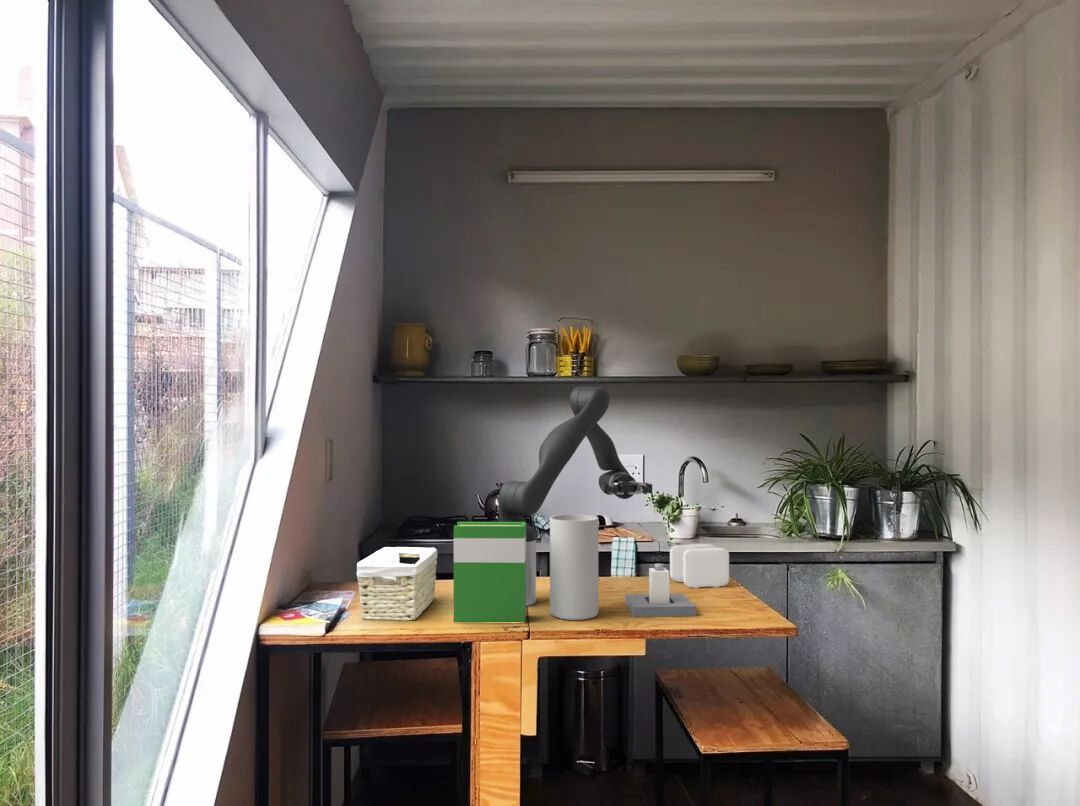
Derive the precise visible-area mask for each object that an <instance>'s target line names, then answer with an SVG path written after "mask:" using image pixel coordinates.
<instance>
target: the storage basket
mask: <svg viewBox="0 0 1080 806" xmlns="http://www.w3.org/2000/svg"><path fill="white" fill-rule="evenodd" d="M400 558H419V560H418V561H417V562H415V564H414V563H411V564H410V563H403V562H402V563H401V562H400ZM437 558H438V549H436V548H435V547H409V546H396V547H395V546H394V547H393V546H391V547H390V546H386V547H385V546H384V547H382V548H381V549H379V550H376V551H375V552H374V553H371V554H370V555H369V556H367V557H365V558H364V559H362V560H360V561H358V562H357V564H356V579H357V584H358V592H359V593H358V595H359V602H360V603H359V604H360V608H361V609H360V610H361V611H360V614H361V618H362V619H364V620H377V621H378V620H379V621H381V620H383V621H403V622H404V621H405V622H407V621H414V620H416V619H418V617H419V616H421V614H422V613H423V612H424V611H425V610H426V609H427V608H428V607H429V605H431V603H432V602H433V601H434V600H435V598H436V596H435V593H436V579H437V575H436V572H437V571H436V570H437V563H438V560H437Z"/></svg>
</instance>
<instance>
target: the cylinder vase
mask: <svg viewBox="0 0 1080 806" xmlns="http://www.w3.org/2000/svg"><path fill="white" fill-rule="evenodd" d="M549 612H550V614H551V615H552V617H554V618H556V617H557V619H559V618H560V619H561V620H565V619H566V621H584V620H585V621H586V620H590V619H592V618H593V619H594V618H595V617H597V615H599V517H598V516H597V515H596V516H595V515H590V514H589V515H588V514H556V515H552V516H550V517H549Z"/></svg>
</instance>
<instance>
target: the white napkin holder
mask: <svg viewBox="0 0 1080 806" xmlns="http://www.w3.org/2000/svg"><path fill="white" fill-rule="evenodd" d="M669 578H671V580H673V581H675V582H679V583H680V582H684V583H683V584H684V585H685V586H687V587H689V588H691V587H692V588H696V589H699V588H698V587H703V588H705V587H710V588H713V587H714V588H717V587H716V586H722V587H723V586H725V585H727V584H728V583H729V582H730V552H729V551H728V550H727V549H726V548H723V547H716V546H715V545H713V544H710V543H699V544H697V543H695V544H692V543H691V544H676V545H672V547H670V549H669ZM692 588H691V589H692Z"/></svg>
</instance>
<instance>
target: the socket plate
mask: <svg viewBox="0 0 1080 806" xmlns="http://www.w3.org/2000/svg"><path fill="white" fill-rule="evenodd" d="M624 597H625V598H624V604H625V606H626V607H627V608H628V610H629V612H630V613H631V615H632V616H633V618H643V617H645V618H651V617H653V618H656V617H658V618H659V617H696V616H697V614H696V613H697V612H696V611H697V608H696V605H695V604H694V603H693V602H692V600H690V599H689V598H688V597H687V596H686V595H685V593H669V603H649V593H625V596H624Z"/></svg>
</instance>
